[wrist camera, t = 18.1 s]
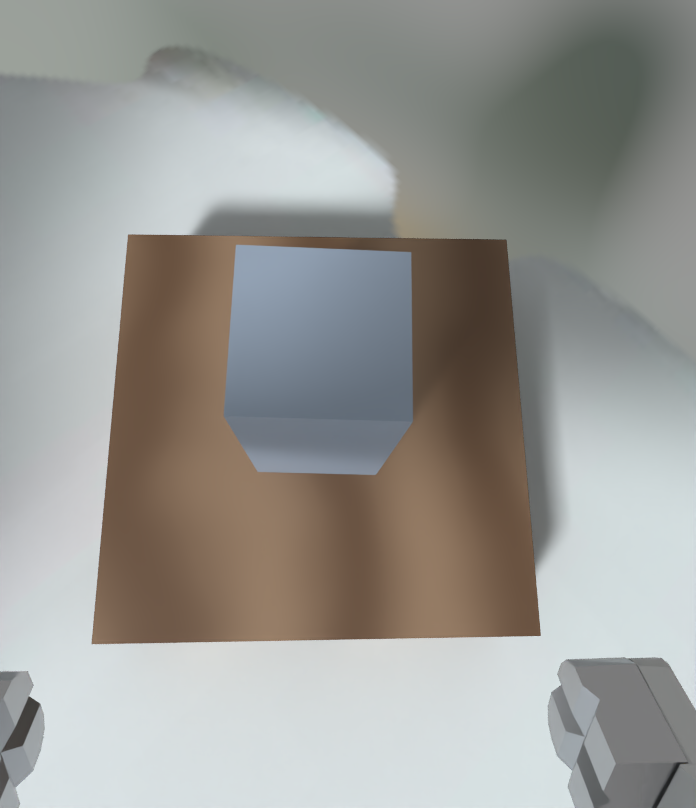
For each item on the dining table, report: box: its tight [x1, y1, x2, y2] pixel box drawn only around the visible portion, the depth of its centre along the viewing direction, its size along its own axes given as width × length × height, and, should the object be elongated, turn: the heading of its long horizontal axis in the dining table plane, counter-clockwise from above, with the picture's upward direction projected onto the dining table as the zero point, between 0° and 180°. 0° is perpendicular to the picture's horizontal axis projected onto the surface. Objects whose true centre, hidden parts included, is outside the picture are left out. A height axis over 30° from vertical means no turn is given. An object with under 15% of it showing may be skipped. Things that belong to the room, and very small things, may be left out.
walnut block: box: [92, 235, 541, 644], centre depth 26 cm, size 16×16×5 cm
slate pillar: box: [224, 245, 413, 475], centre depth 19 cm, size 4×4×9 cm
